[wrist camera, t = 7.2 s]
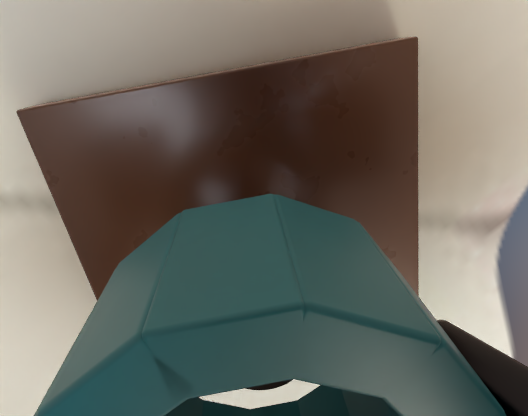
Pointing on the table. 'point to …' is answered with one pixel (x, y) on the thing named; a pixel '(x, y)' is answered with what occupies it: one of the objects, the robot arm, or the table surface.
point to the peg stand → (239, 150)
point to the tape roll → (263, 324)
